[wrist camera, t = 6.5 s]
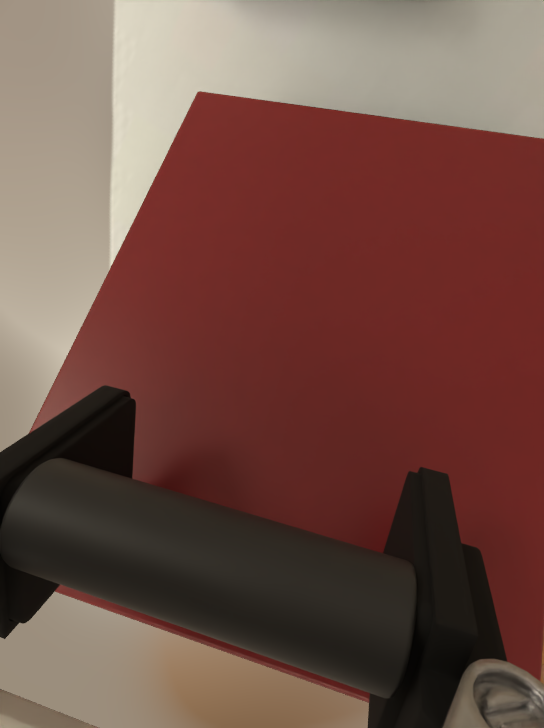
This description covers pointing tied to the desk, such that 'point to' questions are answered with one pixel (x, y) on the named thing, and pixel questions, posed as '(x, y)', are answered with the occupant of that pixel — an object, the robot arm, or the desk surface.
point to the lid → (308, 389)
